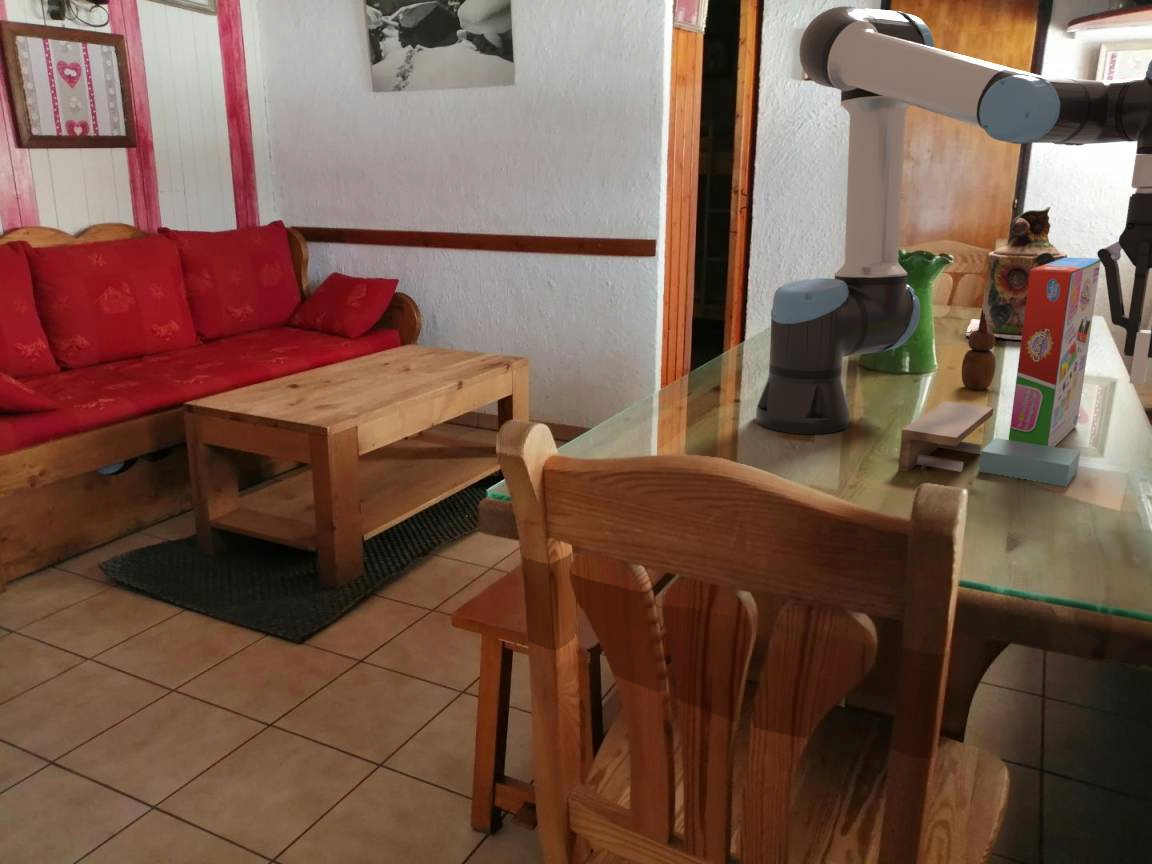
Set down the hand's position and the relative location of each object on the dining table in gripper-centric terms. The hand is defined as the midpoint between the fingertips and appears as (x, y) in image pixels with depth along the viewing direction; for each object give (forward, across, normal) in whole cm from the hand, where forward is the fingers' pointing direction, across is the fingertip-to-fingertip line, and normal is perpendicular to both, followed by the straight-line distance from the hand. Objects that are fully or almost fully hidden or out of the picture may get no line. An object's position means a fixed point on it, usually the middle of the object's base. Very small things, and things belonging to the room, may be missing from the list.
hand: (1137, 381), depth 115 cm
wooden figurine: (+14, -30, +49) cm, 60 cm away
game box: (+14, -13, +19) cm, 27 cm away
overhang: (+14, -22, 0) cm, 27 cm away
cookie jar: (+14, -38, +119) cm, 126 cm away
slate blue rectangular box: (+14, -11, 0) cm, 18 cm away
